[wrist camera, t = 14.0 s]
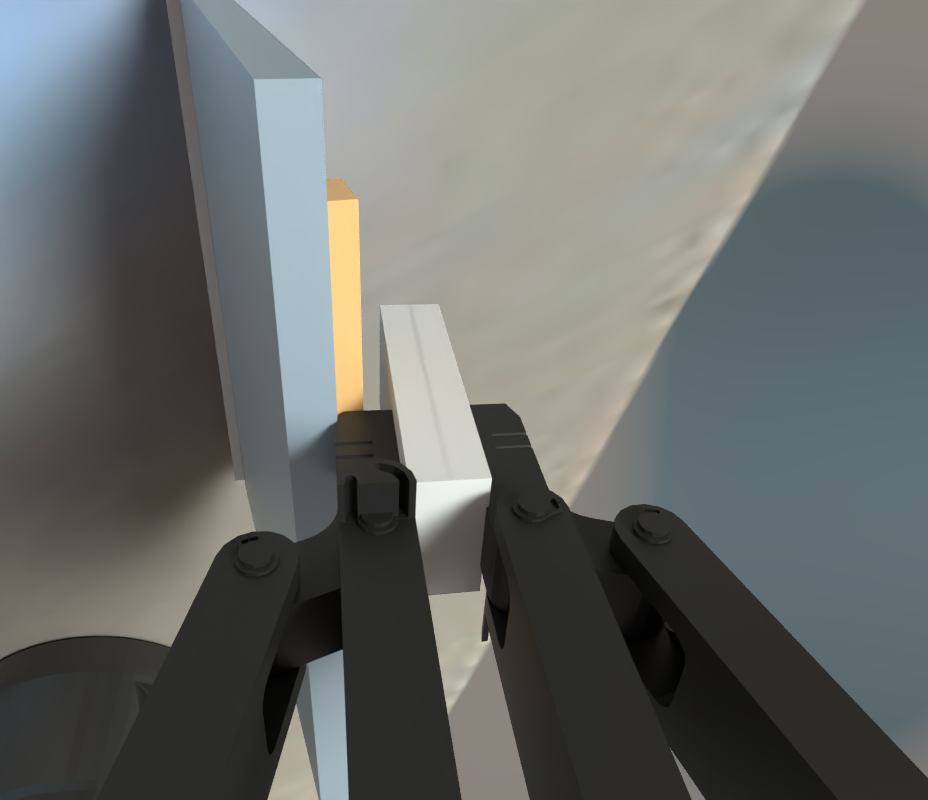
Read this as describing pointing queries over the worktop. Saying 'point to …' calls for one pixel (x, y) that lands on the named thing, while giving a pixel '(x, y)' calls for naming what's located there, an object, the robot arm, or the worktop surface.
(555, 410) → the worktop surface
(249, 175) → the door
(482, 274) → the worktop surface
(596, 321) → the worktop surface
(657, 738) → the robot arm
